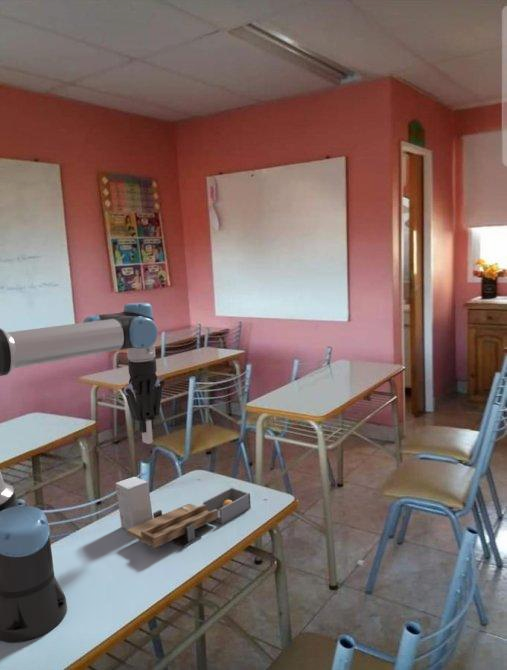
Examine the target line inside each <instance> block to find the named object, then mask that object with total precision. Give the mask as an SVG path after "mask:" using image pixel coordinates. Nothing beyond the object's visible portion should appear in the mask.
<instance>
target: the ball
mask: <svg viewBox="0 0 507 670" xmlns="http://www.w3.org/2000/svg"><path fill="white" fill-rule="evenodd" d="M231 502H232V501H231V500H226V501H224V503H223V507H224V506H226V505H228V504H230V503H231Z"/></svg>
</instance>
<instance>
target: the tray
mask: <svg viewBox="0 0 507 670" xmlns="http://www.w3.org/2000/svg"><path fill="white" fill-rule="evenodd" d="M226 500H231V501H232V502H231V503H230V504H228V505H226V506H224V507H223V503H224V501H226ZM202 505H206V510H207V511H209V512H210V511H212V510H214V509H217V510H218V518H217V519H215V520H213V521H214V522H216V523H218V524H221V525H224V524H225V523H227V522H229V521H231V520H232V519H234V518H235V517H237V516H239V515H241V514H243V513H244V512H246V511H248V510H249V508H250V509H251V508H252V506H251V493H249V492H246V491H243V490H240V489H238V488H234V487H230V488H228V489H226V490H224V491H222V492H221V493H219V494H216V495H215V496H212V497H211V498H208V499H206V500H204V501H203V502H202ZM247 509H248V510H247ZM213 521H212V522H213Z"/></svg>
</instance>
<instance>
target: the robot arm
mask: <svg viewBox="0 0 507 670" xmlns="http://www.w3.org/2000/svg"><path fill="white" fill-rule="evenodd" d="M154 321H155V318H154V312H153V306H152V305H151V304H150V303H149V302H130V303H126V304H124V306H123V311H122V312H116V313H115V312H114V313H104V314H95V315H89V316H87V317H85V318H84V320H83V322H79V323H71V324H62V325H55V326H47V327H40V328H31V329H25V330H22V329H21V330H16V331H15V330H14V331H8V332H7V331H6V330H4V329H3V328H0V377H3V376H7V375H9V374H10V373H11V372H12V370H15V369H20V368H24V367H31V366H35V365H40V364H41V365H42V364H47V363H52V362H58V361H64V360H69V359H74V358H80V357H87V356H92V355H97V354H103V353H108V352H114V351H122V350H126V352H127V353H126V354H127V356H126V357H127V359H128V362H127V367H128V368H127V369H128V374H129V381H128V384H127V386H126V387H122V388H121V391H122V393H123V394H124V396H125V399H126V402H127V406H128V410H129V412H130V415H131V418H132V420H135V421H137V422H138V424H139V425H138V426H139V432H140V433H141V437H142V443H145V444H147V445H150V444H153V442H154V440H153V430H154V429H155V428H154V427H155V426H154V421H155V420H156V416H159V414H160V408H161V400H162V392H163V388H164V386H165V381H164V380H161V379H159V378H158V376H157V370H158V368H157V360H156V359H155V358H156V341H157V338H158V335H159V333H158V332H159V330H158V327H157V324H156V323H155V322H154ZM50 534H51V531H50V525H49V522H48V518H47V515H46V514H45V512H44V511H43V510H42V509H40V508H39V507H36V506H33V505H32V506H31V505H29V506H26V505H19V501H18V499H17V495H16V492H15V489H14V486H12V485H11V484H7V483H6V482H4V478H3V475H2V471H1V470H0V641H2V642H7V643H9V642H10V643H19V642H25V641H29V640H34V639H36V638H39V637H40V636H43V635H45V634H47V633H48V632H50V631H52V630H53V629H55V628H56V627H57V626H58V625H59V624H60V623H61V622H62V621H63V619H64V618H65V616H66V614H67V611H68V605H67V598H66V595H65V593H64V591H63V589H62V588H61V585H60V583H59V582H58V581H57V578H56V576H55V571H54V562H53V553H52V544H51V535H50Z"/></svg>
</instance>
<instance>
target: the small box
mask: <svg viewBox="0 0 507 670" xmlns="http://www.w3.org/2000/svg"><path fill="white" fill-rule="evenodd" d="M115 487H116V489H115V490H116V497H117V504H118V511H119V519H120V526H121V527H122V529H125V530H127V529H130V528H132V527H134V526H137V525H139V524H142V523H144V522H146V521H149V520H151V519H154V517H153V510H152V509H153V508H152V501H151V495H150V494H151V493H150V488H149V487H150V485H149V482H148V481H146V480H144V479H142V478H139V477H137V476H133V477H129V478H127V479H123V480H120V481H117V482H115Z"/></svg>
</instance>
